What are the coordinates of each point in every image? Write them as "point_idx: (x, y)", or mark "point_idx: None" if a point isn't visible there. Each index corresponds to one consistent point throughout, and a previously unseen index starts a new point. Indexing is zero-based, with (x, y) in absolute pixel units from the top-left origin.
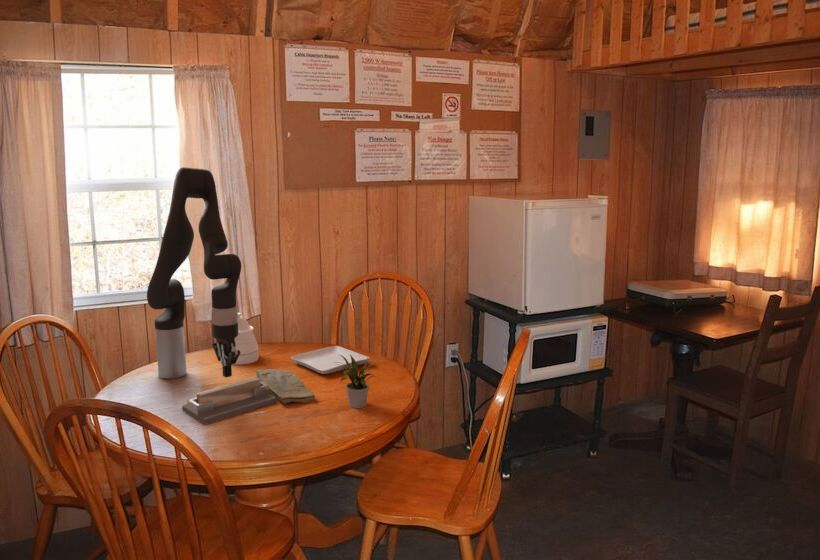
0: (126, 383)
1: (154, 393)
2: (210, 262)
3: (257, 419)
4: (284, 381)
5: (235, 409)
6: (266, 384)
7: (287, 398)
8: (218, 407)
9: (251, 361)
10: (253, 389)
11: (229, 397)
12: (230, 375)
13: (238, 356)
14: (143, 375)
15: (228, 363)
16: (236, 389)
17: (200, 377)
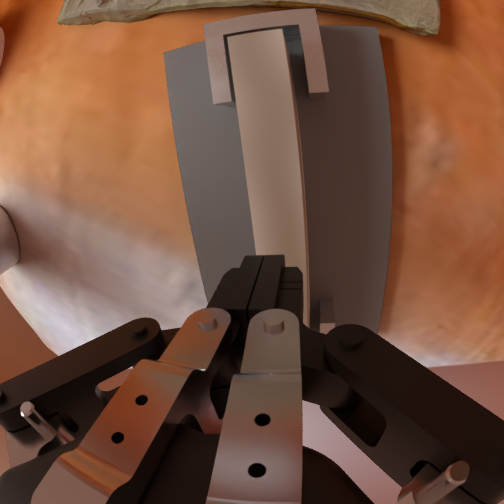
0: (33, 319)
1: (81, 315)
2: None
3: (469, 191)
4: None
5: (385, 232)
6: (296, 12)
7: (439, 19)
8: (317, 272)
9: (1, 42)
10: (314, 93)
11: (306, 228)
12: (284, 264)
13: (482, 411)
14: (6, 279)
15: (364, 405)
16: (303, 195)
17: (20, 185)
